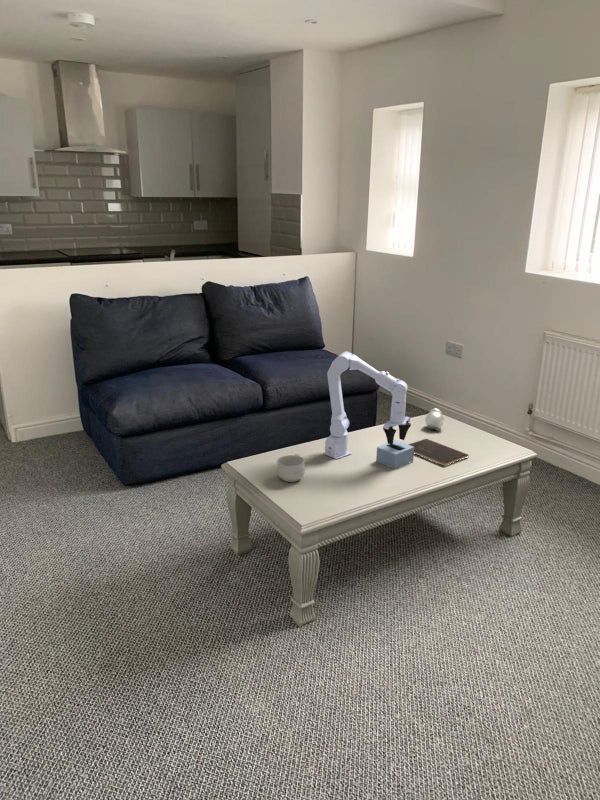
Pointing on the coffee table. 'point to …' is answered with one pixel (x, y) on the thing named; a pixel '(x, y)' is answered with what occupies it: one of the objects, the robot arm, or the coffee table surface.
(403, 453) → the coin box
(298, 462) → the teacup
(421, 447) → the hardcover book
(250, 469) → the coffee table surface
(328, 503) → the coffee table surface
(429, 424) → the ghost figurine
